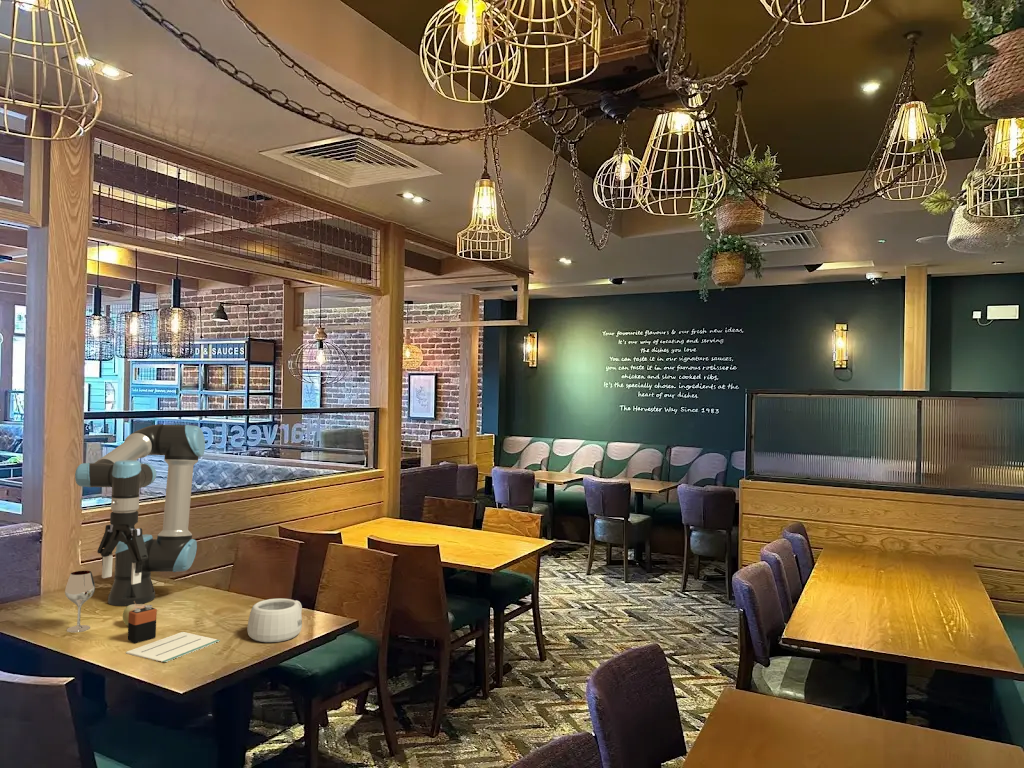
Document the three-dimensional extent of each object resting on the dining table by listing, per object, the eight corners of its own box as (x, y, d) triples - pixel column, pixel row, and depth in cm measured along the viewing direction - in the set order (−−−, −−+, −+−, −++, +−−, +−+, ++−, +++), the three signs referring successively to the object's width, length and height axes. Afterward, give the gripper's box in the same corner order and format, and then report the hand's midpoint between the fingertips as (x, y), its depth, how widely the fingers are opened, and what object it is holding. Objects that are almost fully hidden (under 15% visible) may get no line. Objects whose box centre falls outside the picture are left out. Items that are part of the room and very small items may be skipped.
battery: (156, 638, 214) (157, 606, 214) (134, 644, 209) (135, 611, 209) (148, 635, 217) (150, 603, 217) (126, 640, 211) (128, 608, 211)
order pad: (182, 632, 220) (182, 631, 220) (220, 641, 213) (220, 640, 213) (125, 653, 201) (125, 651, 201) (164, 663, 195) (164, 661, 195)
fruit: (121, 630, 220) (122, 605, 220) (123, 623, 227) (124, 598, 227) (147, 627, 223) (149, 602, 224) (149, 620, 230) (150, 596, 230)
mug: (278, 648, 210) (280, 615, 210) (235, 639, 216) (236, 607, 216) (321, 627, 230) (322, 597, 230) (280, 619, 236) (281, 590, 236)
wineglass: (78, 634, 215) (81, 576, 215) (56, 631, 217) (59, 574, 217) (99, 626, 223) (102, 570, 223) (77, 623, 225) (80, 568, 225)
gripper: (86, 508, 213) (83, 577, 213) (140, 516, 203) (137, 588, 202) (109, 505, 220) (106, 572, 219) (163, 513, 209) (159, 583, 209)
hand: (121, 580), depth 211 cm, fingers open, 13 cm apart
